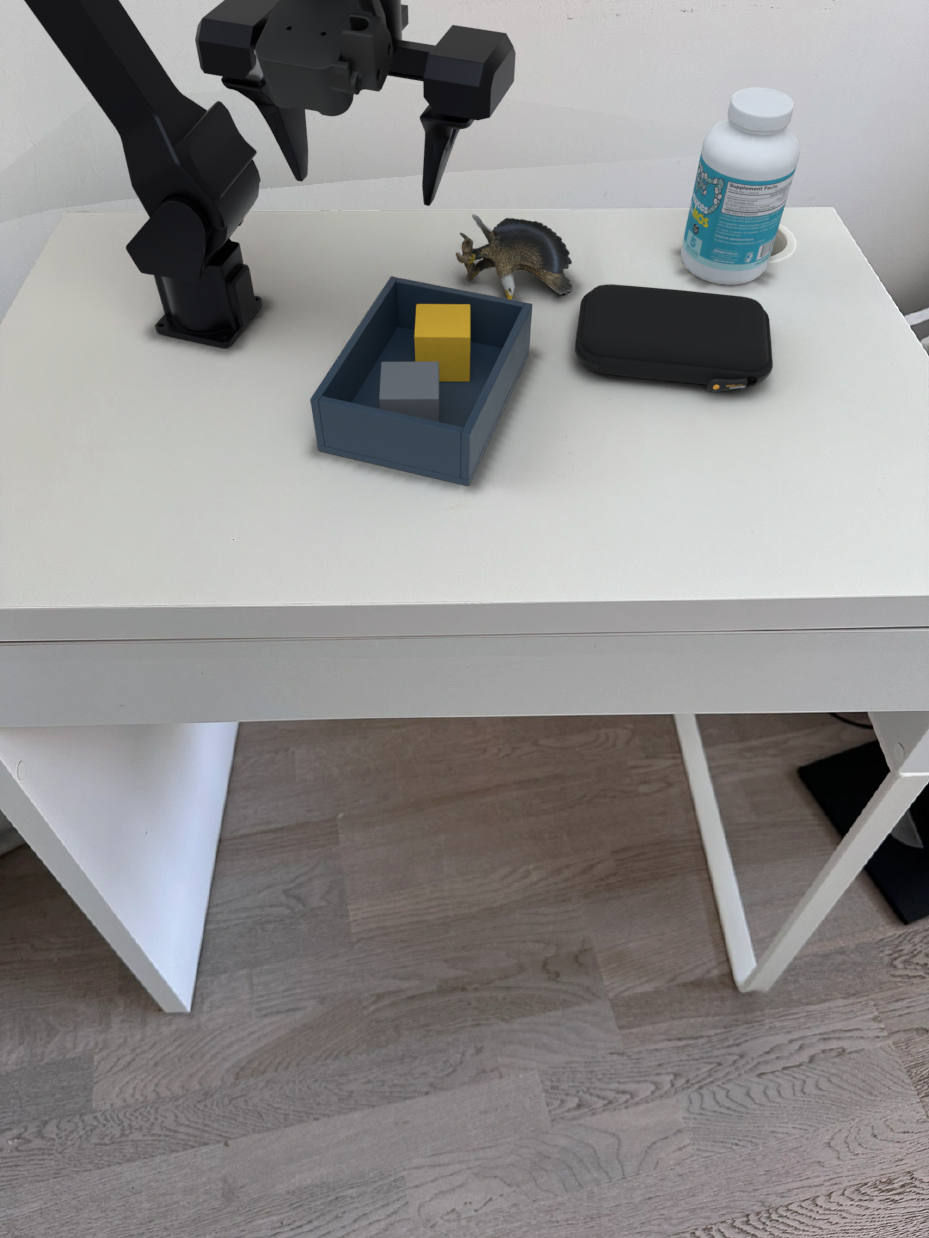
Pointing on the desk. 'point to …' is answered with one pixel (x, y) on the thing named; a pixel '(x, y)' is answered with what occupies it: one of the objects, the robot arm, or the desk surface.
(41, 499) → the desk surface
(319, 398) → the dark blue open box
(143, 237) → the robot arm
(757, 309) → the carrying case
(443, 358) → the mustard yellow block
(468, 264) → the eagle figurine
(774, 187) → the pill bottle
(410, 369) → the slate grey cube
